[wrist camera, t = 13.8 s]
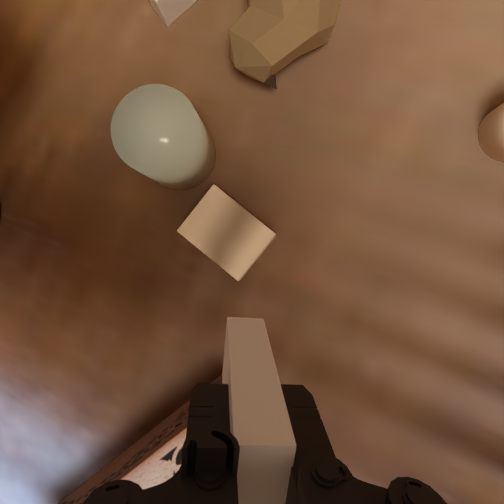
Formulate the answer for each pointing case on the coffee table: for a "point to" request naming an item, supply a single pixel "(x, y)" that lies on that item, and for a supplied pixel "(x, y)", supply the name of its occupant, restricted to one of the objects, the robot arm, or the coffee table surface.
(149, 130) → the pale green egg
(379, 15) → the coffee table surface
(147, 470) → the tissue box cover
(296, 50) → the low-poly potato
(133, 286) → the coffee table surface
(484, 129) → the cream capsule
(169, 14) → the rail
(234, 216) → the birch box
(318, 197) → the coffee table surface
